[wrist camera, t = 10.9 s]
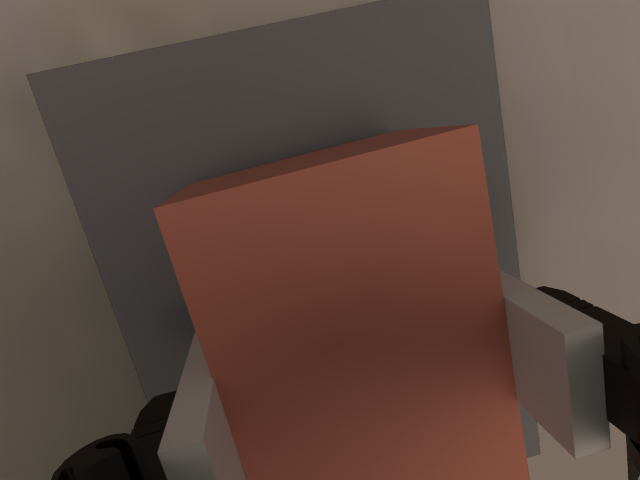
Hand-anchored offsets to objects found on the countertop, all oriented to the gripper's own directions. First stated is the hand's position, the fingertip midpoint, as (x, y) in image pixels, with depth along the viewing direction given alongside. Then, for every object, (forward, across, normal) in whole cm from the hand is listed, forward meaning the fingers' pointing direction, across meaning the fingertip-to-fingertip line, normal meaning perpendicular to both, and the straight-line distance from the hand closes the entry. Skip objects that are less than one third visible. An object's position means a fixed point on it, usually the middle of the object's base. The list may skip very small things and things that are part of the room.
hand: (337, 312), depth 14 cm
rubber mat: (+2, 0, 0) cm, 2 cm away
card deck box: (0, 0, 0) cm, 0 cm away
